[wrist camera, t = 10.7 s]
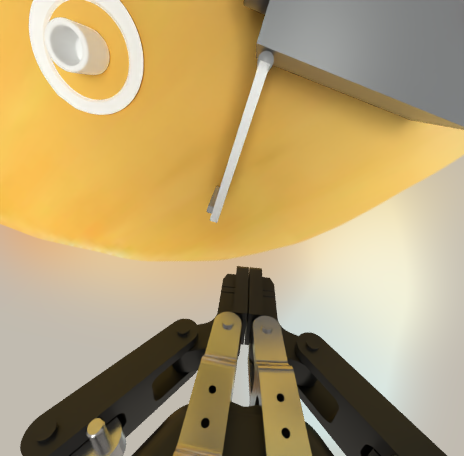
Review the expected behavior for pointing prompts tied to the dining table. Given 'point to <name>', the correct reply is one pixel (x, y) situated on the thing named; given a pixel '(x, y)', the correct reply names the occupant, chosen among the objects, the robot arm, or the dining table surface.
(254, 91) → the side door
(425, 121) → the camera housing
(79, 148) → the dining table surface
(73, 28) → the candle holder
